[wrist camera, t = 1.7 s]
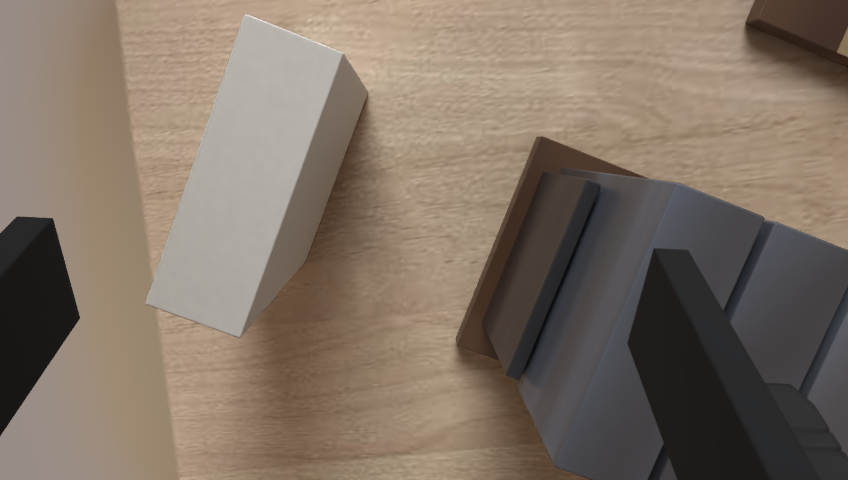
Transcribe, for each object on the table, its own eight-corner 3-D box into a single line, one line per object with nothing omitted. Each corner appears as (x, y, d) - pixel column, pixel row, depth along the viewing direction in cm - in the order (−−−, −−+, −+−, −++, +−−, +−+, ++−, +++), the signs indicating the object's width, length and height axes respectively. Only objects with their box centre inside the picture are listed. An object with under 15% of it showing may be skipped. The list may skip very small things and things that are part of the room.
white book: (248, 240, 34) (143, 304, 21) (310, 68, 33) (244, 13, 19) (305, 261, 35) (240, 339, 21) (368, 91, 34) (344, 52, 20)
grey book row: (455, 338, 35) (494, 481, 20) (537, 136, 34) (642, 128, 19) (667, 416, 36) (854, 608, 21) (754, 222, 35) (1018, 280, 20)
